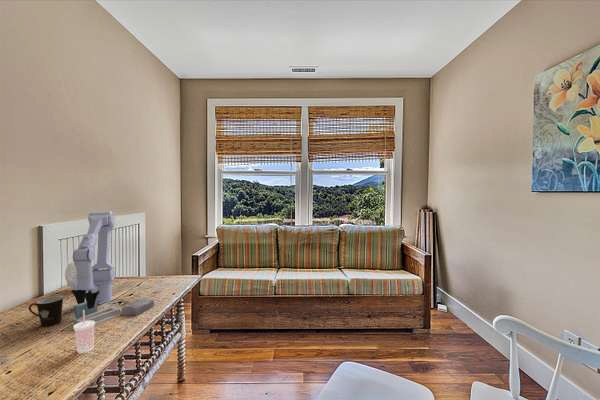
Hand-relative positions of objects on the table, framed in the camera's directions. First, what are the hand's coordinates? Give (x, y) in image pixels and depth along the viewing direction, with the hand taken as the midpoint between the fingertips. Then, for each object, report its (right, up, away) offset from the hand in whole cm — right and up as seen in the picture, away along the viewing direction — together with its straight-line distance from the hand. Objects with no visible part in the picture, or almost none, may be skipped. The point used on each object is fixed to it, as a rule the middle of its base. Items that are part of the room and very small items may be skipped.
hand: (86, 306), depth 135 cm
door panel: (0, -4, 0) cm, 4 cm away
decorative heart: (-27, -3, +34) cm, 44 cm away
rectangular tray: (+8, -4, -5) cm, 10 cm away
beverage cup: (+19, -6, -28) cm, 34 cm away
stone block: (+19, -4, +6) cm, 20 cm away
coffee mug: (-11, -5, -6) cm, 14 cm away
